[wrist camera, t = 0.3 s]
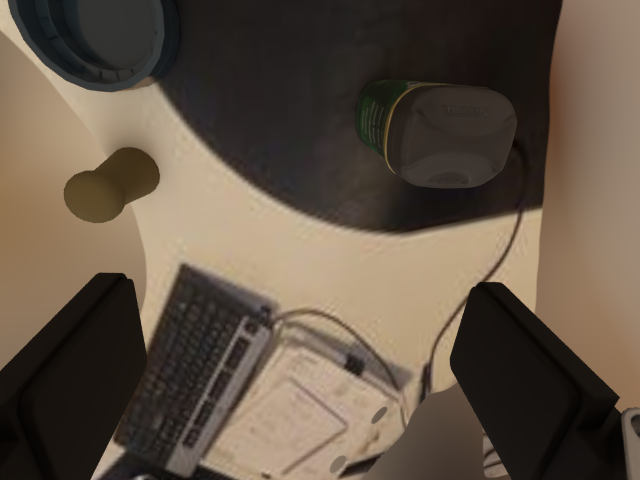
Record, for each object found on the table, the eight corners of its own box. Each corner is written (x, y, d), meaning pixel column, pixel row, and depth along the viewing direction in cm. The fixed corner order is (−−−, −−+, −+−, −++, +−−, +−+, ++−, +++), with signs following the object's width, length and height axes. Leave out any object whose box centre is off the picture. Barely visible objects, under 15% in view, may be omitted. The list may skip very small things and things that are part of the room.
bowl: (32, -72, 32) (-16, -98, 27) (177, -49, 33) (157, -69, 29) (61, 81, 38) (26, 82, 33) (184, 95, 39) (169, 99, 34)
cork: (142, 205, 44) (99, 243, 34) (98, 173, 42) (38, 204, 32) (169, 171, 43) (133, 201, 33) (125, 136, 40) (71, 157, 31)
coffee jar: (351, 147, 43) (389, 194, 26) (358, 76, 40) (406, 80, 23) (426, 150, 44) (509, 198, 27) (439, 81, 40) (542, 88, 24)
